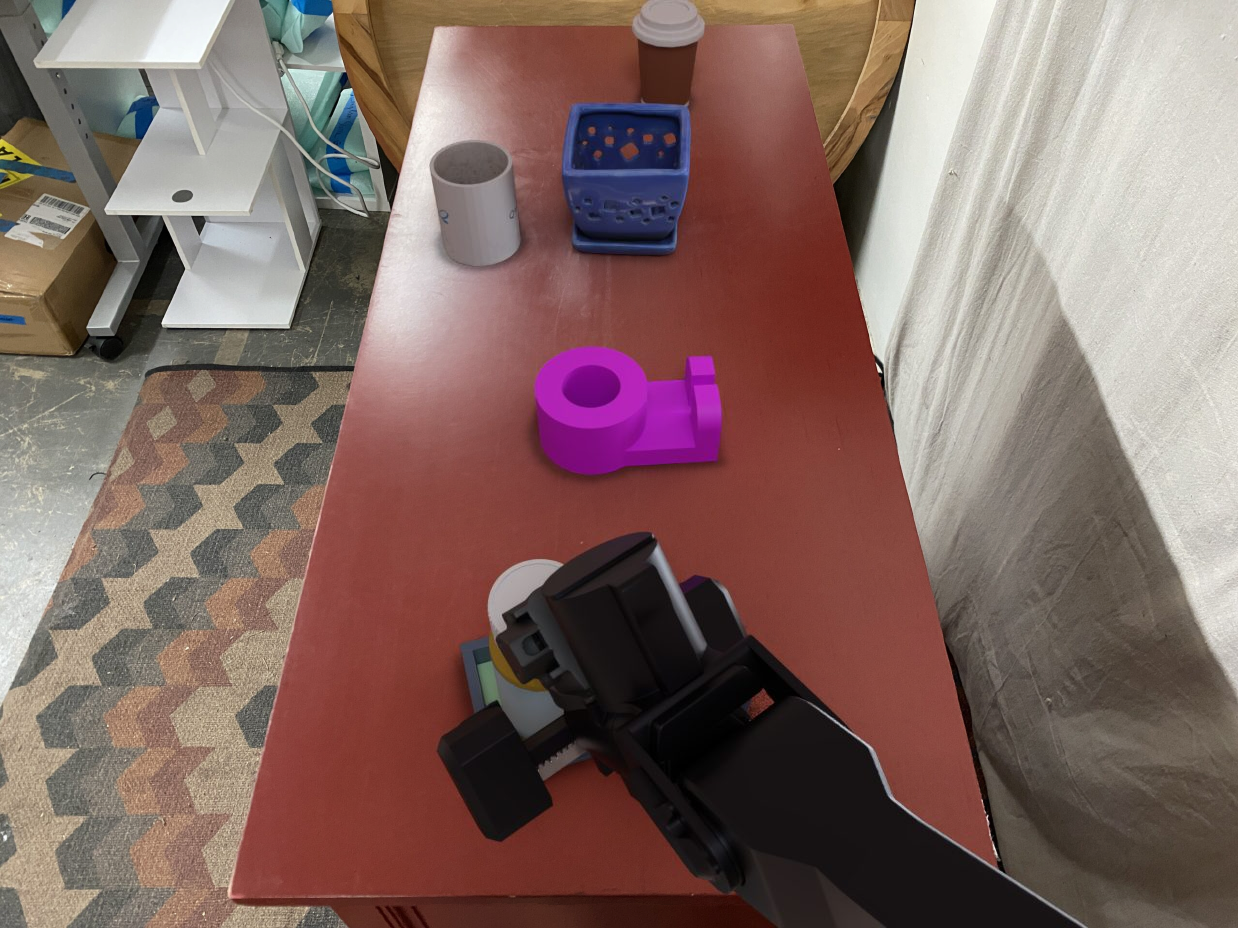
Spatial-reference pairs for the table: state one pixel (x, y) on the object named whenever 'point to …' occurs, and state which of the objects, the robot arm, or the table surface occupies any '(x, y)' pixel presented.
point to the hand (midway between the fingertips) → (554, 670)
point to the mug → (476, 201)
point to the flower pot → (626, 176)
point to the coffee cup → (667, 49)
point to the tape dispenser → (624, 412)
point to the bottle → (520, 702)
